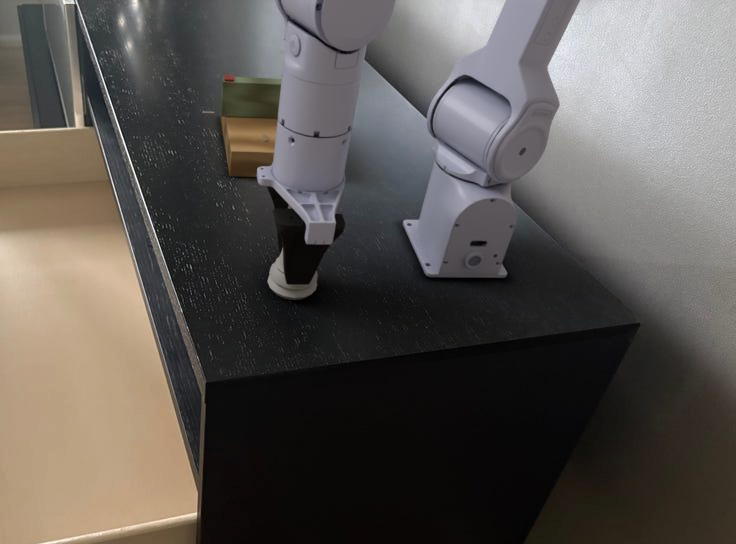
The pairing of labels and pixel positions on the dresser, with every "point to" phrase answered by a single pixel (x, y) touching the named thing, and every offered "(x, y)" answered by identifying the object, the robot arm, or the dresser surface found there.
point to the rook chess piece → (285, 290)
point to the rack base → (248, 143)
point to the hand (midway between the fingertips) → (294, 268)
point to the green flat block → (250, 97)
